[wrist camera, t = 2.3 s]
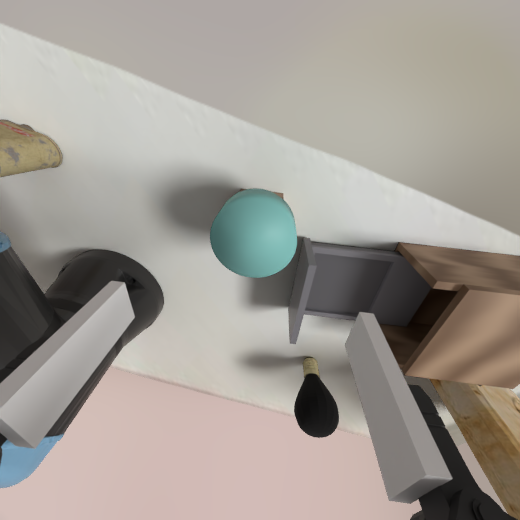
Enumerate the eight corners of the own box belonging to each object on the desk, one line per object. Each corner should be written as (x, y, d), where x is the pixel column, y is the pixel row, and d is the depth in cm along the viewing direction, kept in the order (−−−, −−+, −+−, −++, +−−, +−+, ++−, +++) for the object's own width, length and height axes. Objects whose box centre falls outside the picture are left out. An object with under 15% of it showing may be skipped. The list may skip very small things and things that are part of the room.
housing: (362, 319, 36) (384, 372, 28) (398, 242, 28) (442, 286, 21) (462, 331, 35) (512, 388, 28) (526, 256, 28) (618, 307, 20)
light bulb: (292, 347, 41) (295, 422, 31) (329, 348, 40) (346, 425, 30) (291, 369, 44) (295, 443, 34) (326, 370, 44) (340, 446, 33)
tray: (288, 308, 35) (289, 343, 30) (303, 237, 29) (309, 264, 23) (401, 322, 35) (423, 360, 29) (443, 253, 28) (482, 285, 23)
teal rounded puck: (219, 255, 26) (211, 272, 23) (218, 184, 21) (208, 194, 18) (288, 263, 25) (289, 281, 22) (301, 193, 21) (305, 204, 18)
